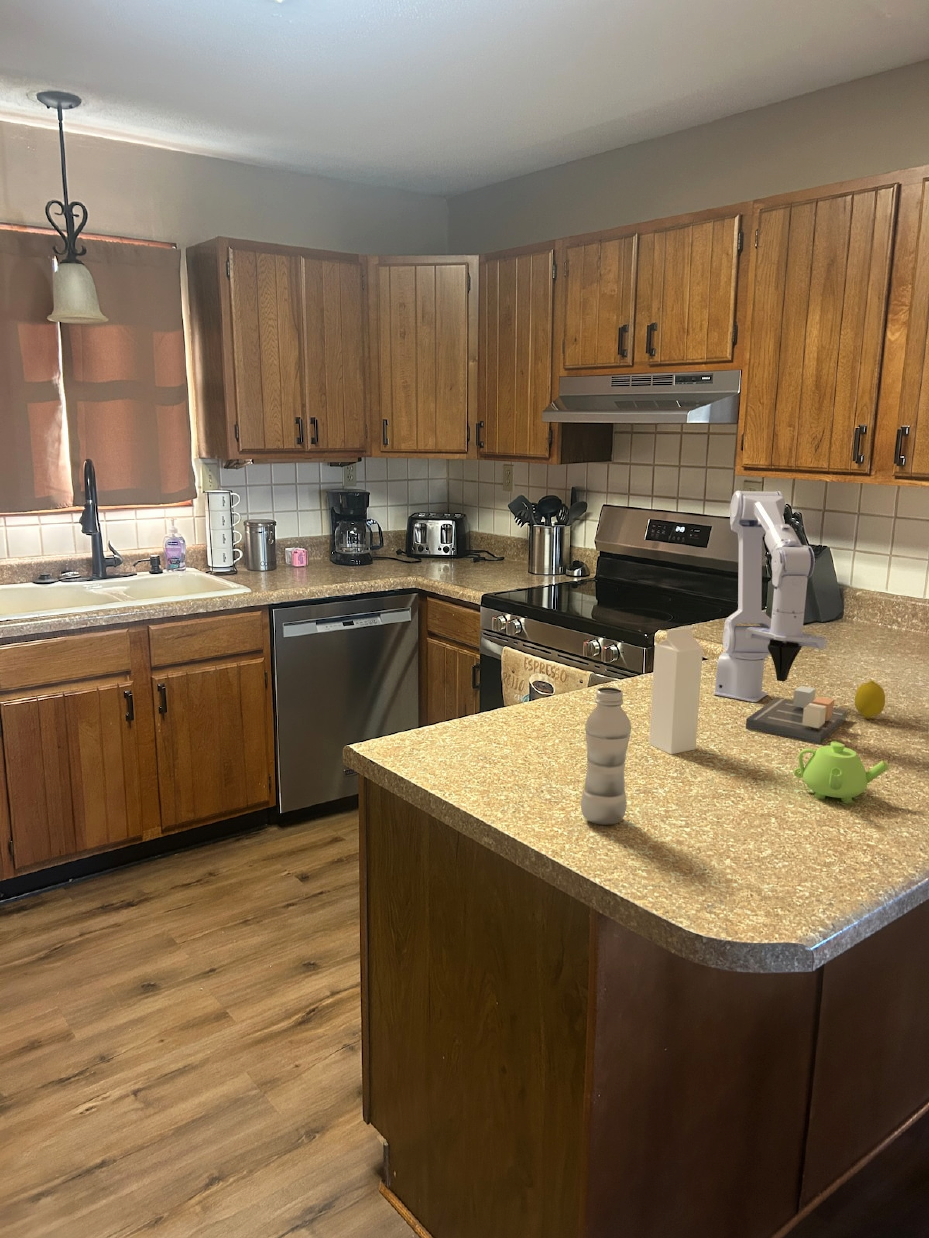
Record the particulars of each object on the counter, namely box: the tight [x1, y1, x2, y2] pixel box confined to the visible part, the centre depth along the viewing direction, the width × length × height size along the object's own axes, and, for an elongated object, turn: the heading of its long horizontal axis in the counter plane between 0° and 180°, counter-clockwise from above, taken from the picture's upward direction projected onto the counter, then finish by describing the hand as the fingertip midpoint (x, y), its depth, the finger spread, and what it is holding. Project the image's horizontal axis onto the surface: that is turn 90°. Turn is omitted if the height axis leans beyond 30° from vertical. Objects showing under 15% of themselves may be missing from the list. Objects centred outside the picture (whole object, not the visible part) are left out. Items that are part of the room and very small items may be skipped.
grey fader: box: [792, 685, 816, 708], centre depth 182 cm, size 3×4×3 cm
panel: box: [745, 697, 848, 745], centre depth 178 cm, size 14×18×2 cm
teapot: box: [793, 741, 890, 804], centre depth 144 cm, size 11×12×8 cm
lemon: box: [854, 680, 886, 720], centre depth 181 cm, size 6×6×8 cm
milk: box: [648, 627, 704, 755], centre depth 162 cm, size 6×6×22 cm
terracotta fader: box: [812, 696, 835, 721], centre depth 175 cm, size 3×4×3 cm
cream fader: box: [802, 703, 826, 728], centre depth 170 cm, size 3×4×3 cm
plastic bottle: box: [580, 686, 632, 826], centre depth 131 cm, size 6×7×20 cm
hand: (781, 680), depth 173 cm, fingers closed
